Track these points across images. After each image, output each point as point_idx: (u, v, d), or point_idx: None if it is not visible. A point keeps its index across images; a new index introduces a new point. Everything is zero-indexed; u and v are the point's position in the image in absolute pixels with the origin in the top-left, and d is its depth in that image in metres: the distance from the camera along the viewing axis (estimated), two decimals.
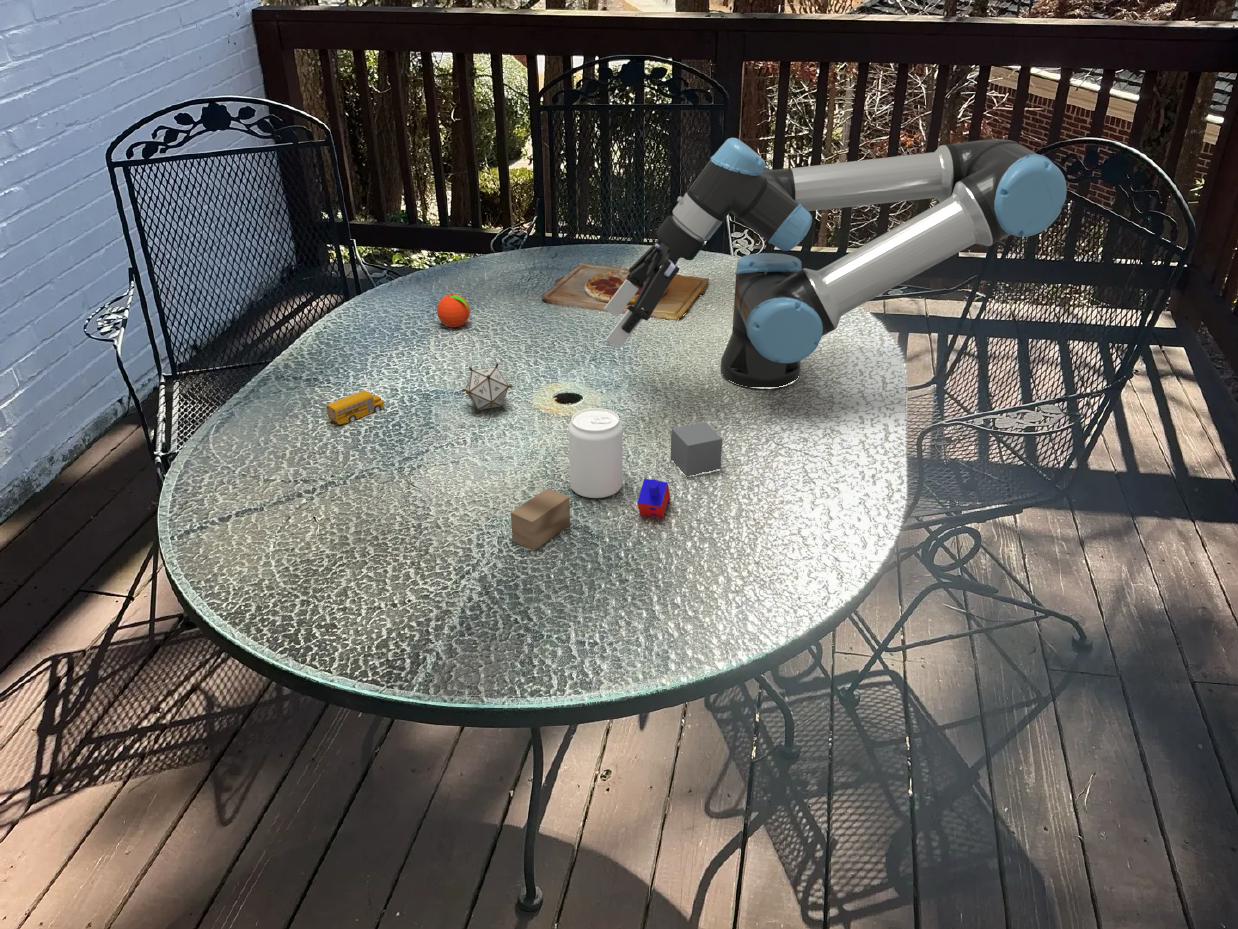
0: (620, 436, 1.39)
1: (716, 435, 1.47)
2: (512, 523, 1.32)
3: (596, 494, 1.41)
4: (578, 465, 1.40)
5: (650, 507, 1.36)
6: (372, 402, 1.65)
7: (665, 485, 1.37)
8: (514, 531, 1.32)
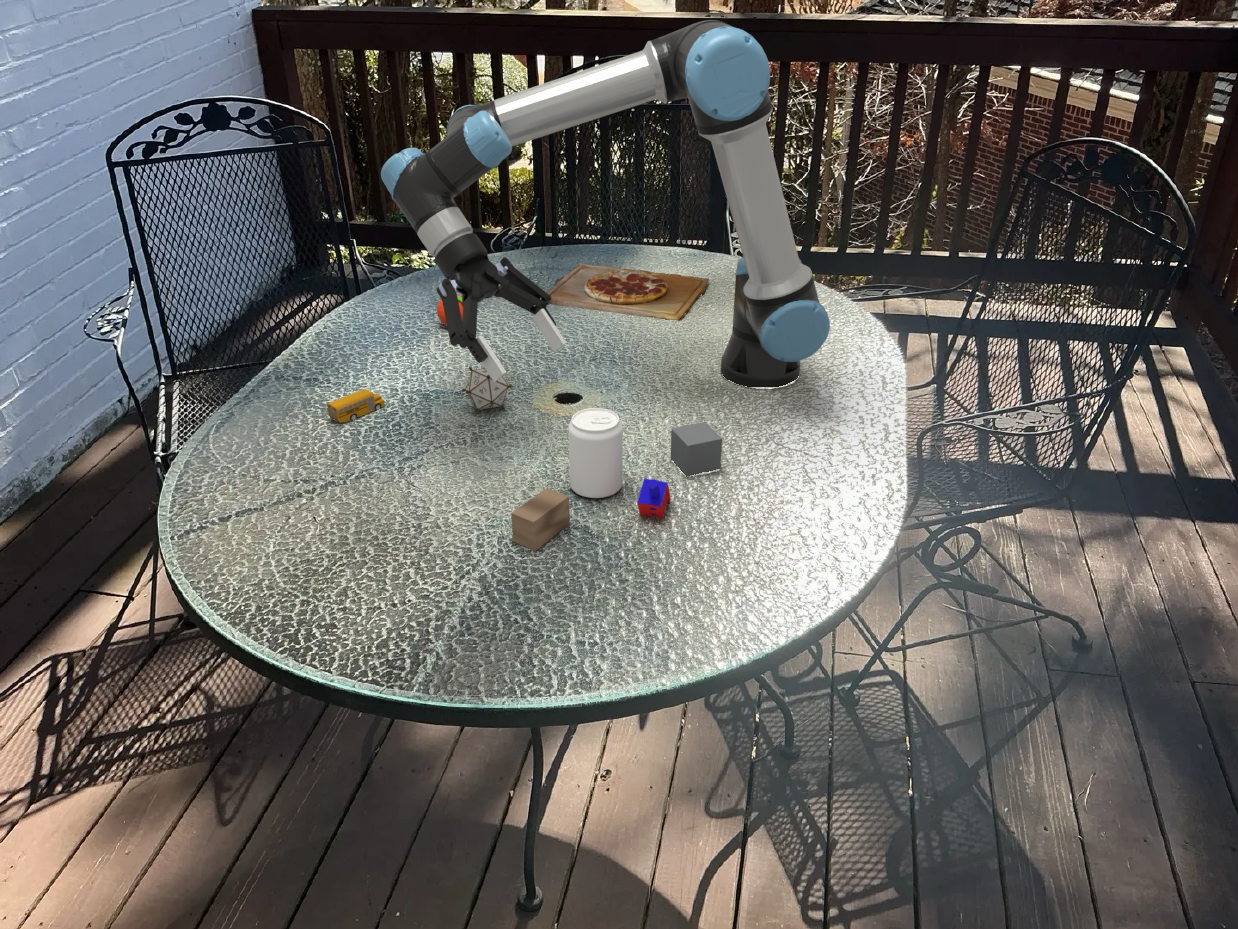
0: (620, 436, 1.39)
1: (716, 435, 1.47)
2: (513, 524, 1.31)
3: (596, 494, 1.41)
4: (578, 465, 1.40)
5: (650, 507, 1.36)
6: (373, 400, 1.66)
7: (665, 485, 1.37)
8: (515, 531, 1.32)
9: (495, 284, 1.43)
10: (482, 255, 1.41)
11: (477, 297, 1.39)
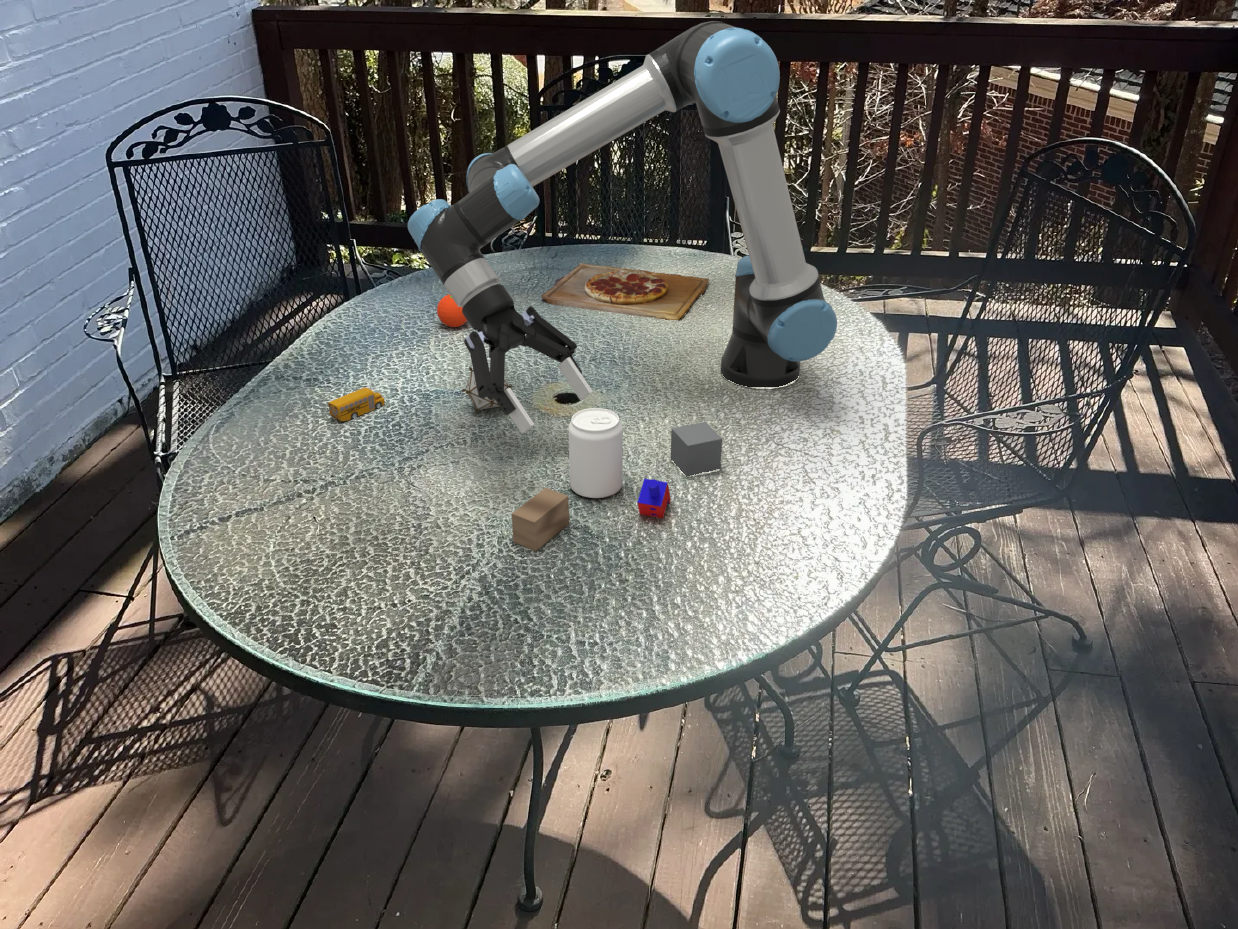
0: (620, 436, 1.39)
1: (716, 435, 1.47)
2: (513, 524, 1.31)
3: (596, 494, 1.41)
4: (578, 465, 1.40)
5: (650, 507, 1.36)
6: (373, 399, 1.66)
7: (665, 485, 1.37)
8: (515, 532, 1.32)
9: (522, 334, 1.43)
10: (508, 306, 1.42)
11: (504, 349, 1.39)
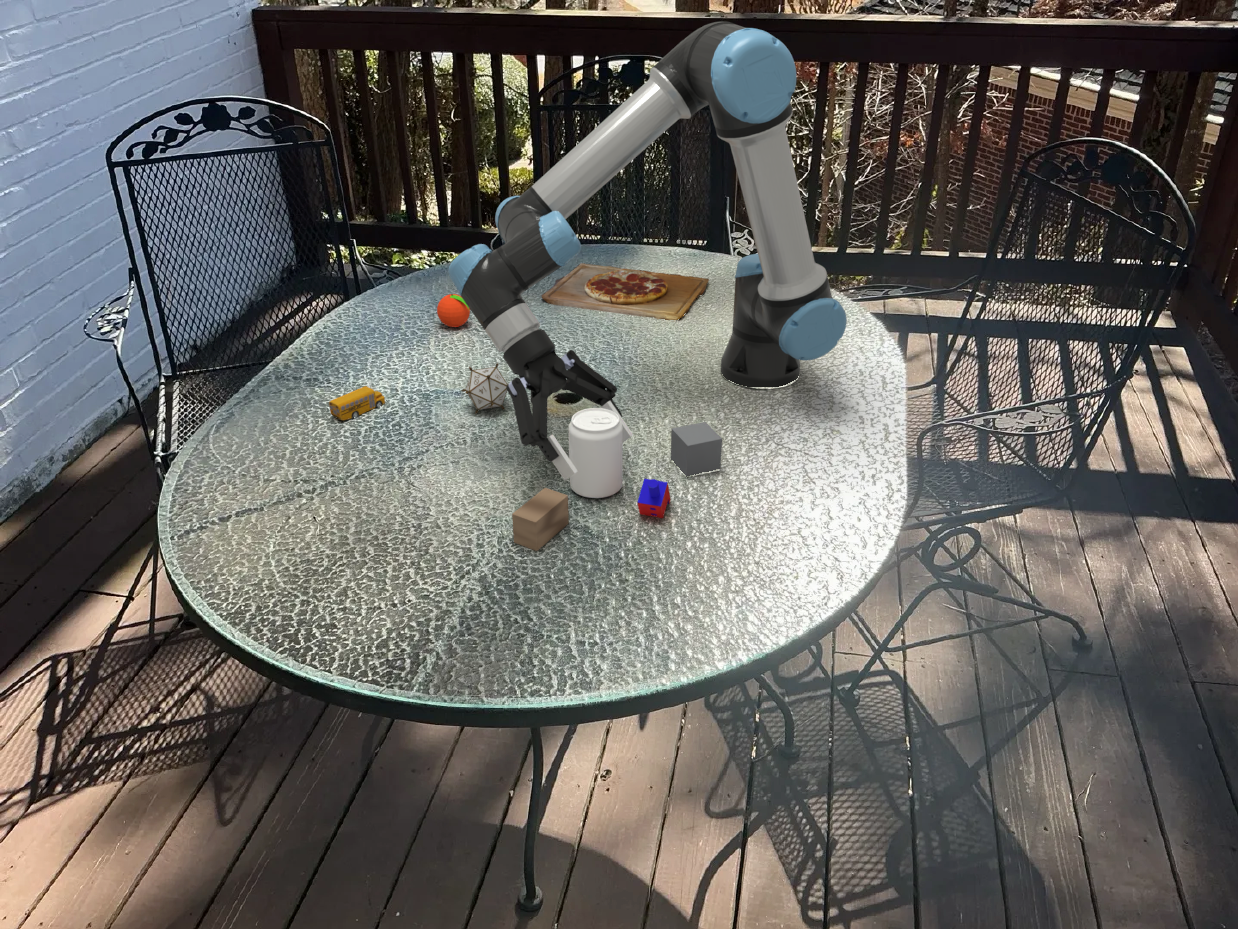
0: (620, 436, 1.39)
1: (716, 435, 1.47)
2: (514, 525, 1.31)
3: (596, 494, 1.41)
4: (578, 465, 1.40)
5: (650, 507, 1.36)
6: (374, 398, 1.67)
7: (665, 485, 1.37)
8: (516, 532, 1.32)
9: (563, 379, 1.42)
10: (550, 351, 1.41)
11: (547, 395, 1.38)
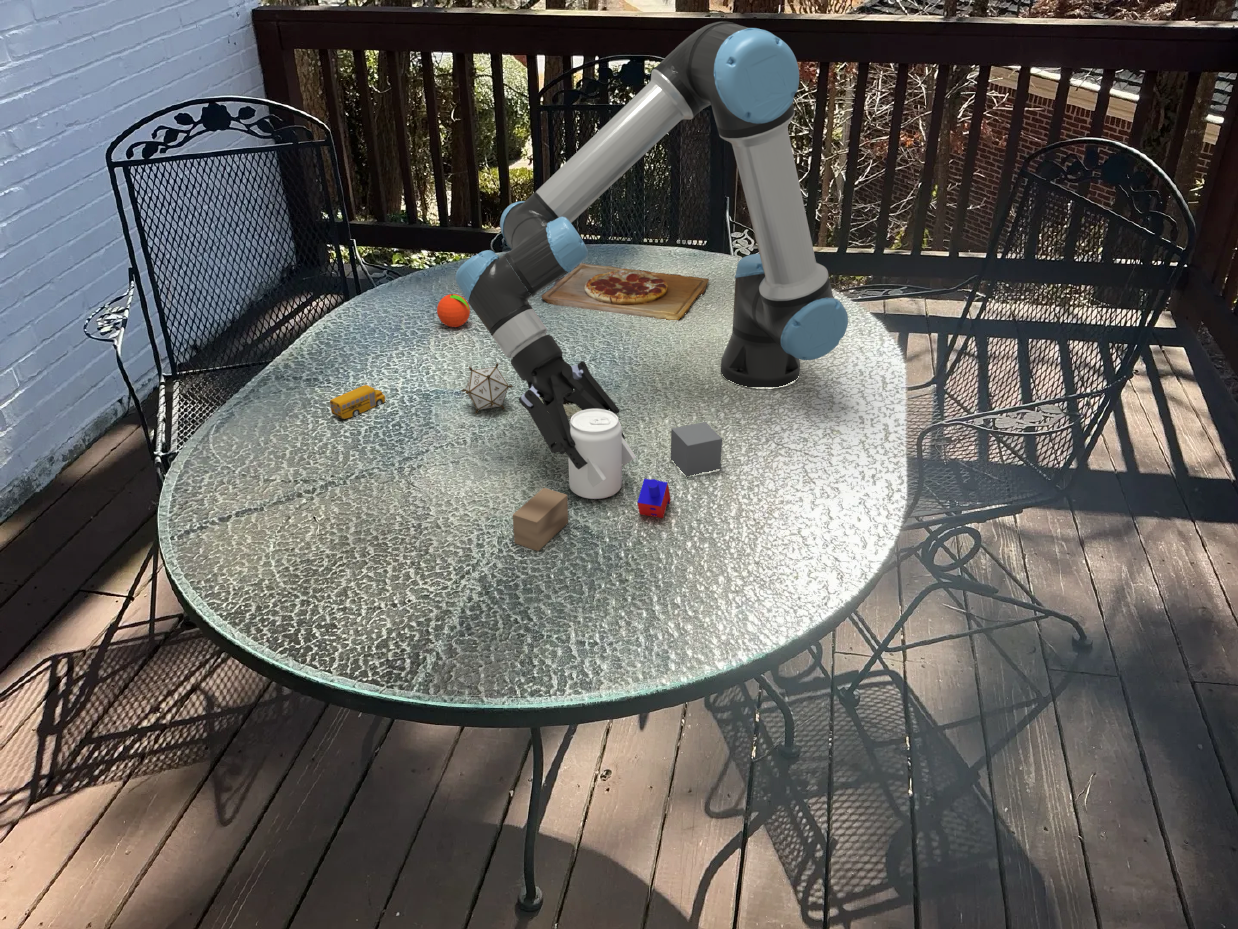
0: (619, 436, 1.39)
1: (716, 435, 1.47)
2: (514, 525, 1.31)
3: (595, 495, 1.41)
4: None
5: (650, 507, 1.36)
6: (374, 396, 1.67)
7: (665, 485, 1.37)
8: (516, 533, 1.32)
9: None
10: (557, 357, 1.41)
11: (562, 401, 1.39)
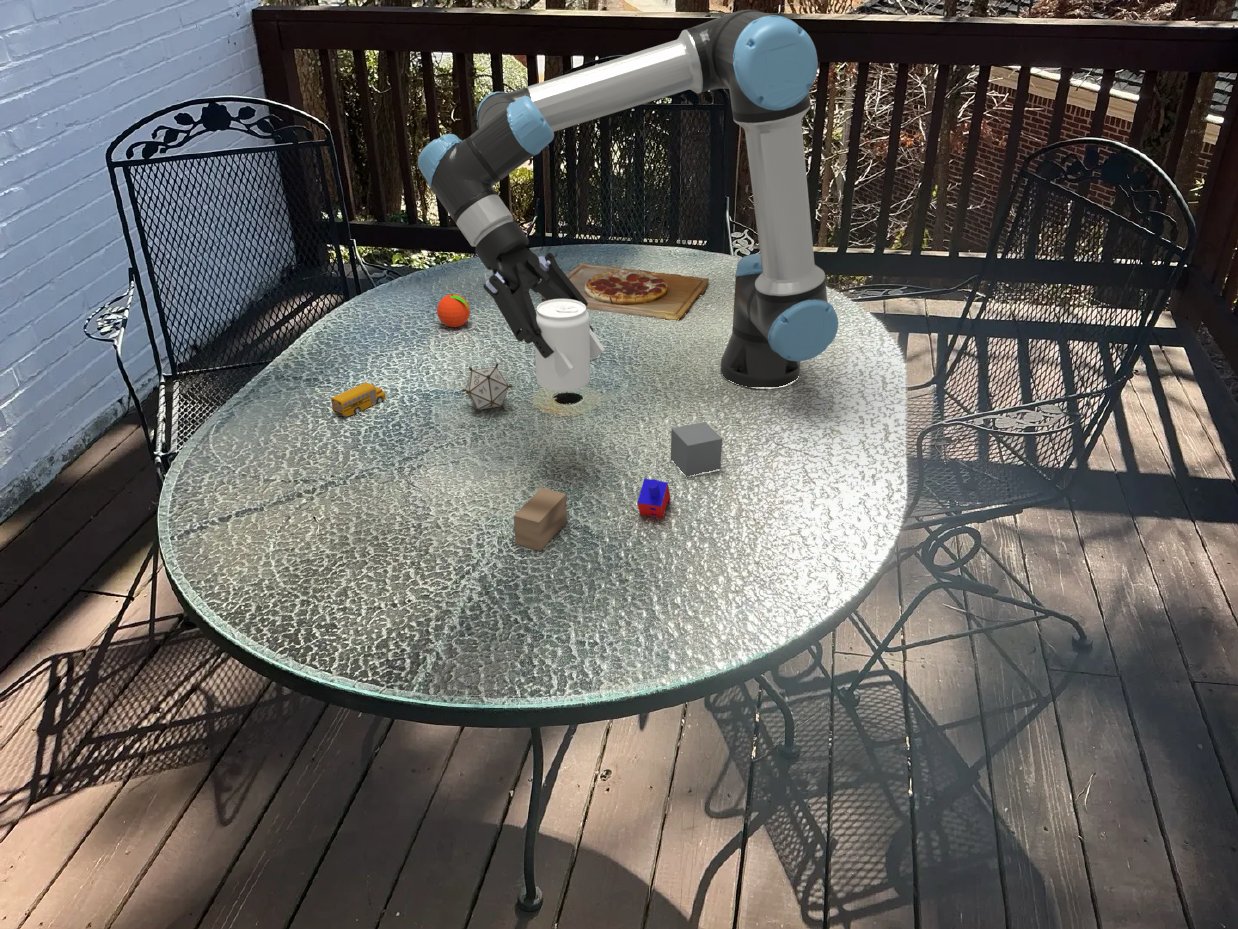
0: (587, 325, 1.35)
1: (716, 435, 1.47)
2: (515, 526, 1.31)
3: (562, 387, 1.37)
4: None
5: (650, 507, 1.36)
6: (375, 393, 1.68)
7: (665, 485, 1.37)
8: (517, 534, 1.32)
9: None
10: (523, 244, 1.37)
11: (528, 288, 1.35)
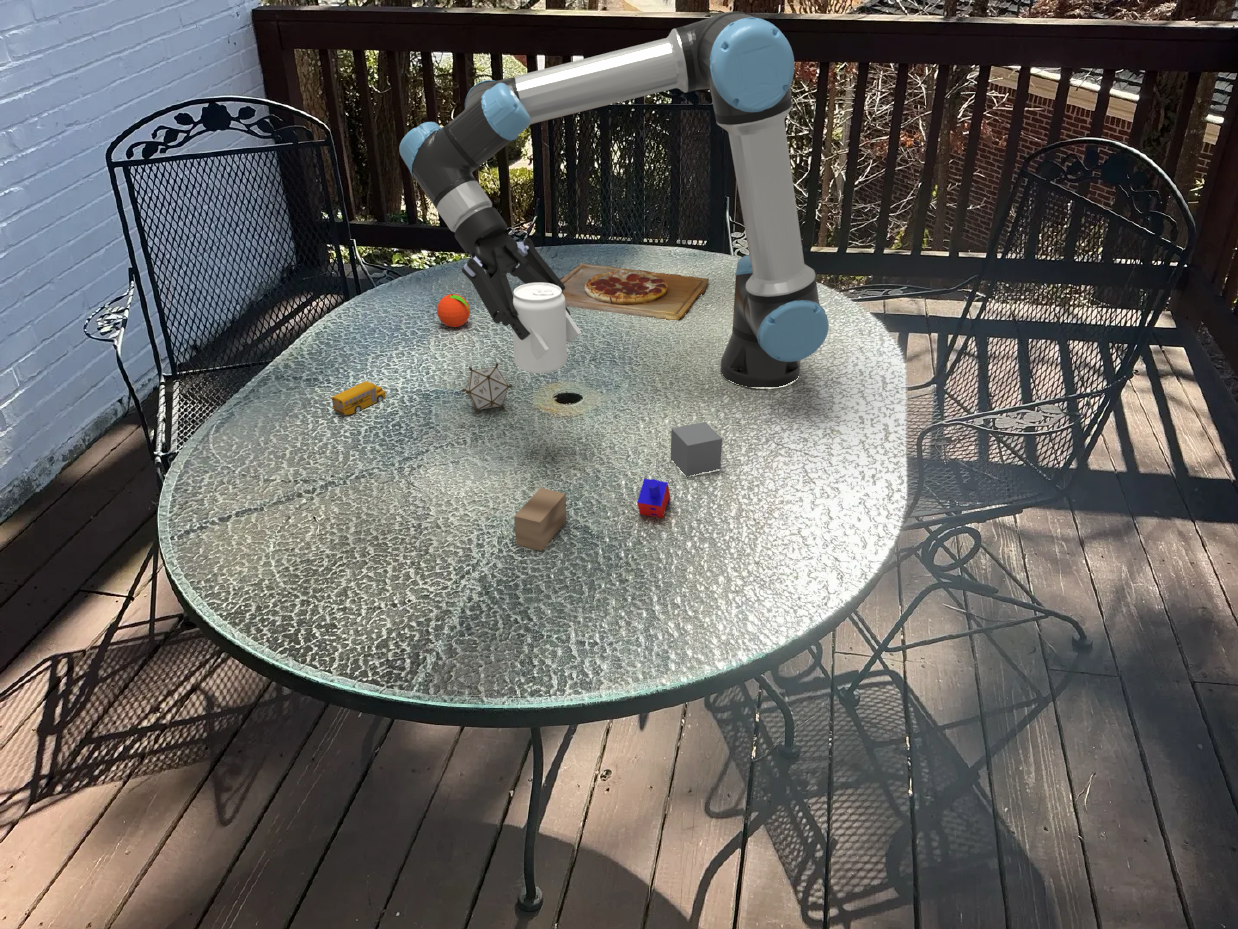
0: (562, 307, 1.39)
1: (716, 435, 1.47)
2: (516, 526, 1.31)
3: (539, 368, 1.41)
4: None
5: (650, 507, 1.36)
6: (375, 392, 1.69)
7: (665, 485, 1.37)
8: (518, 534, 1.31)
9: None
10: (501, 229, 1.41)
11: (505, 272, 1.39)
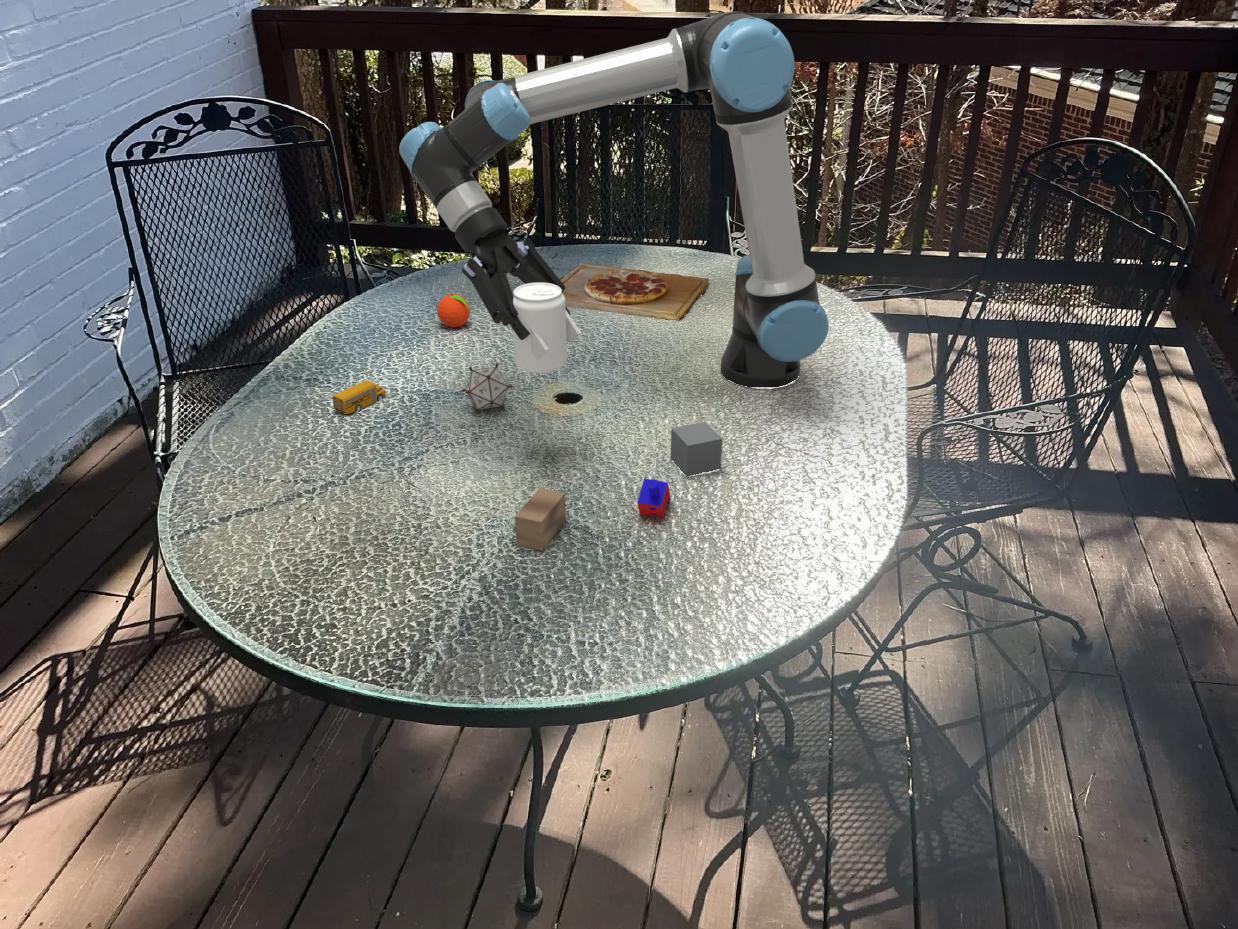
0: (562, 307, 1.39)
1: (716, 435, 1.47)
2: (516, 527, 1.31)
3: (539, 368, 1.41)
4: None
5: (650, 507, 1.36)
6: (375, 391, 1.69)
7: (665, 485, 1.37)
8: (519, 535, 1.31)
9: None
10: (501, 229, 1.41)
11: (505, 272, 1.39)
